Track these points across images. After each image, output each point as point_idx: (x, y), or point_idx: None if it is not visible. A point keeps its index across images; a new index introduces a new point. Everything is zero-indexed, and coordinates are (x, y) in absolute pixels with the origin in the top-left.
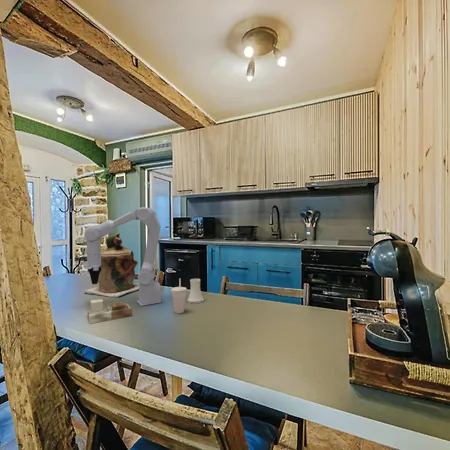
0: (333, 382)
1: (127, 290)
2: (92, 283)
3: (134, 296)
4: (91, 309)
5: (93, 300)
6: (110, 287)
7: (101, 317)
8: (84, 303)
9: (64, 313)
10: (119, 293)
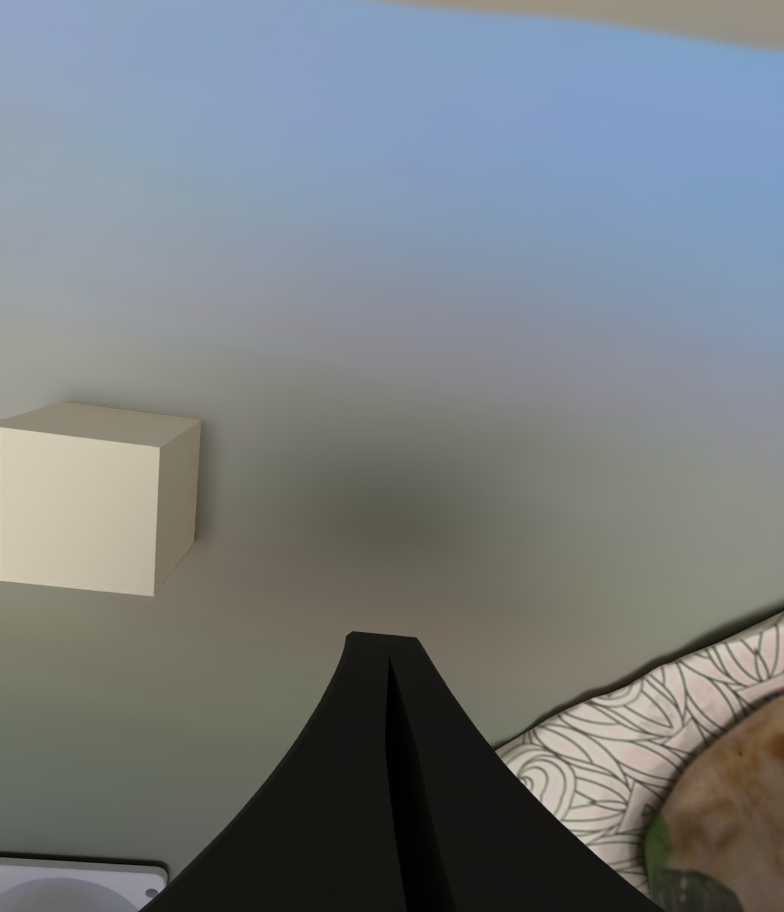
0: None
1: None
2: (345, 645)
3: None
4: (76, 410)
5: (128, 481)
6: (752, 808)
7: None
8: (522, 407)
9: (229, 92)
10: None
